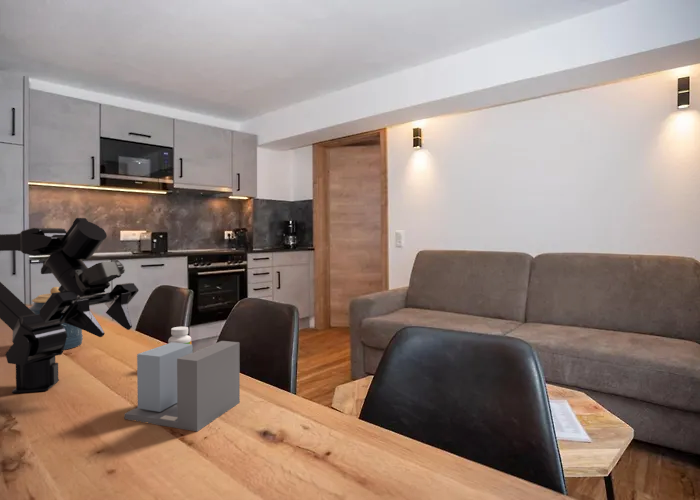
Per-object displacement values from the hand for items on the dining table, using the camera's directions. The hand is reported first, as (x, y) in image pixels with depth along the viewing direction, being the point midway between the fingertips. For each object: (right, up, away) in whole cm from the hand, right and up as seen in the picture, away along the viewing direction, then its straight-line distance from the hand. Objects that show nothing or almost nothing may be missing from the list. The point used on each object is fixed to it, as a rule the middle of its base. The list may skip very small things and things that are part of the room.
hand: (117, 331), depth 84 cm
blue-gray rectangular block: (+11, -13, -3) cm, 17 cm away
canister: (-40, -12, +40) cm, 58 cm away
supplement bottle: (+4, -13, +22) cm, 26 cm away
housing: (+15, -14, -5) cm, 21 cm away
